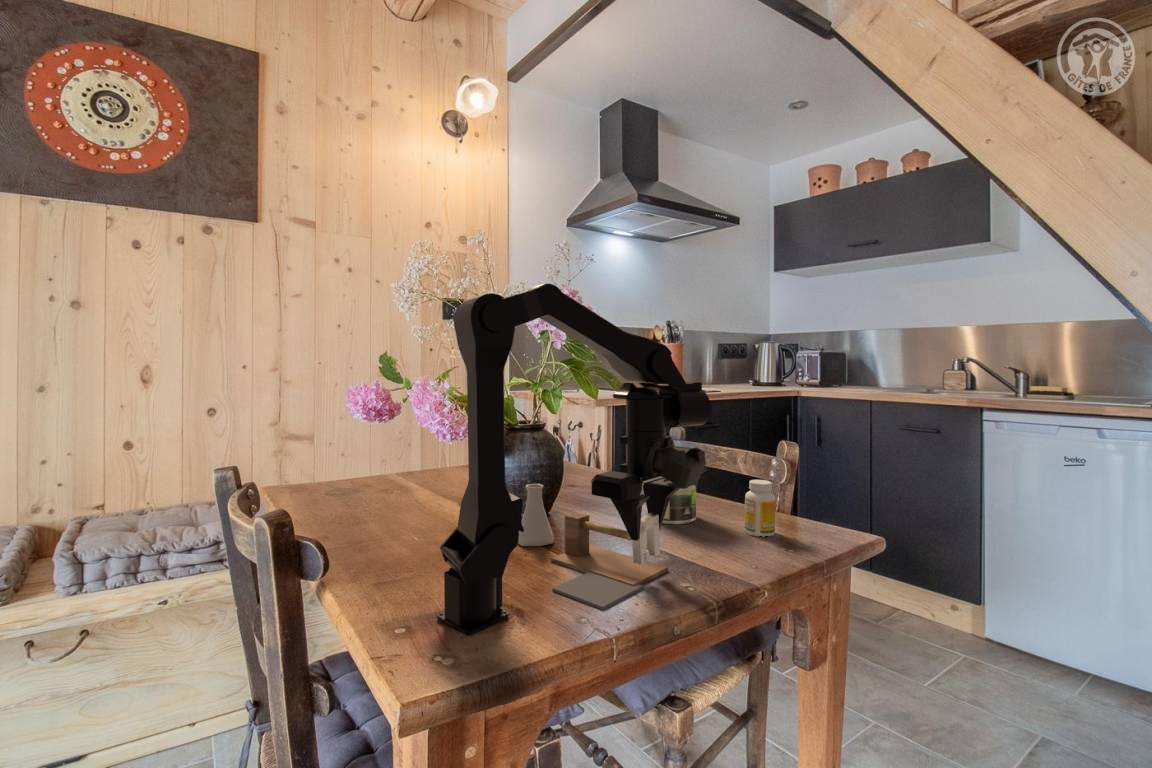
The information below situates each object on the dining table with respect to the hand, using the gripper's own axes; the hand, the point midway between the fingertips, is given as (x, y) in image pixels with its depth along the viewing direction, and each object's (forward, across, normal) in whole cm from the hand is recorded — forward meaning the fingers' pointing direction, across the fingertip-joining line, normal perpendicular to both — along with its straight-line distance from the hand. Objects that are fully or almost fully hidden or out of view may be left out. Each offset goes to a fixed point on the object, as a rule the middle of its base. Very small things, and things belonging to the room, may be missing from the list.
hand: (645, 535), depth 81 cm
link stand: (+6, 0, +7) cm, 10 cm away
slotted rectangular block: (+3, 0, 0) cm, 3 cm away
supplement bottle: (+6, +32, -4) cm, 33 cm away
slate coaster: (+6, -8, +2) cm, 10 cm away
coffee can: (+6, +30, +14) cm, 34 cm away
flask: (+6, +1, +24) cm, 25 cm away
